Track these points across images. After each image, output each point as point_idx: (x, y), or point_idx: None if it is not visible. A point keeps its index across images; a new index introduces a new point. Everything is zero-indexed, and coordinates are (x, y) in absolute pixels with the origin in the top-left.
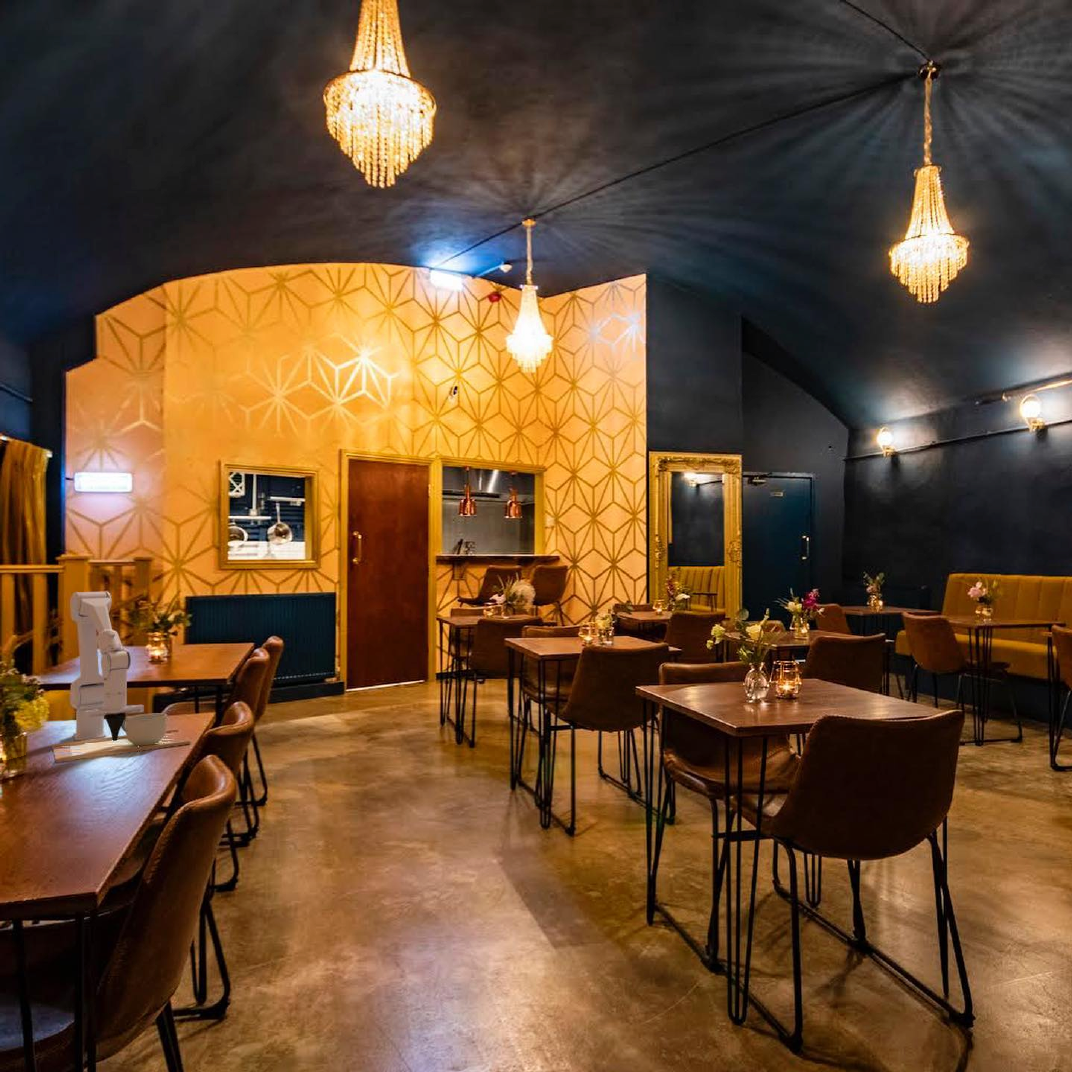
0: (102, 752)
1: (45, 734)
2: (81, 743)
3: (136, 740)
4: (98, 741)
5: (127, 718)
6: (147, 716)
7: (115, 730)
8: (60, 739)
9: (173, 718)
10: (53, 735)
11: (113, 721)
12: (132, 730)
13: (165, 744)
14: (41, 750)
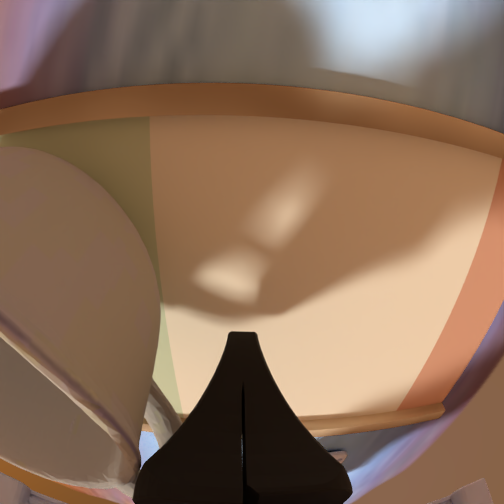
0: (381, 101)
1: (362, 493)
2: (355, 418)
3: (86, 174)
4: None
5: (124, 470)
6: (19, 449)
7: (242, 391)
8: (364, 468)
9: None
10: (355, 488)
11: (272, 460)
12: (73, 236)
13: None
14: (469, 388)
